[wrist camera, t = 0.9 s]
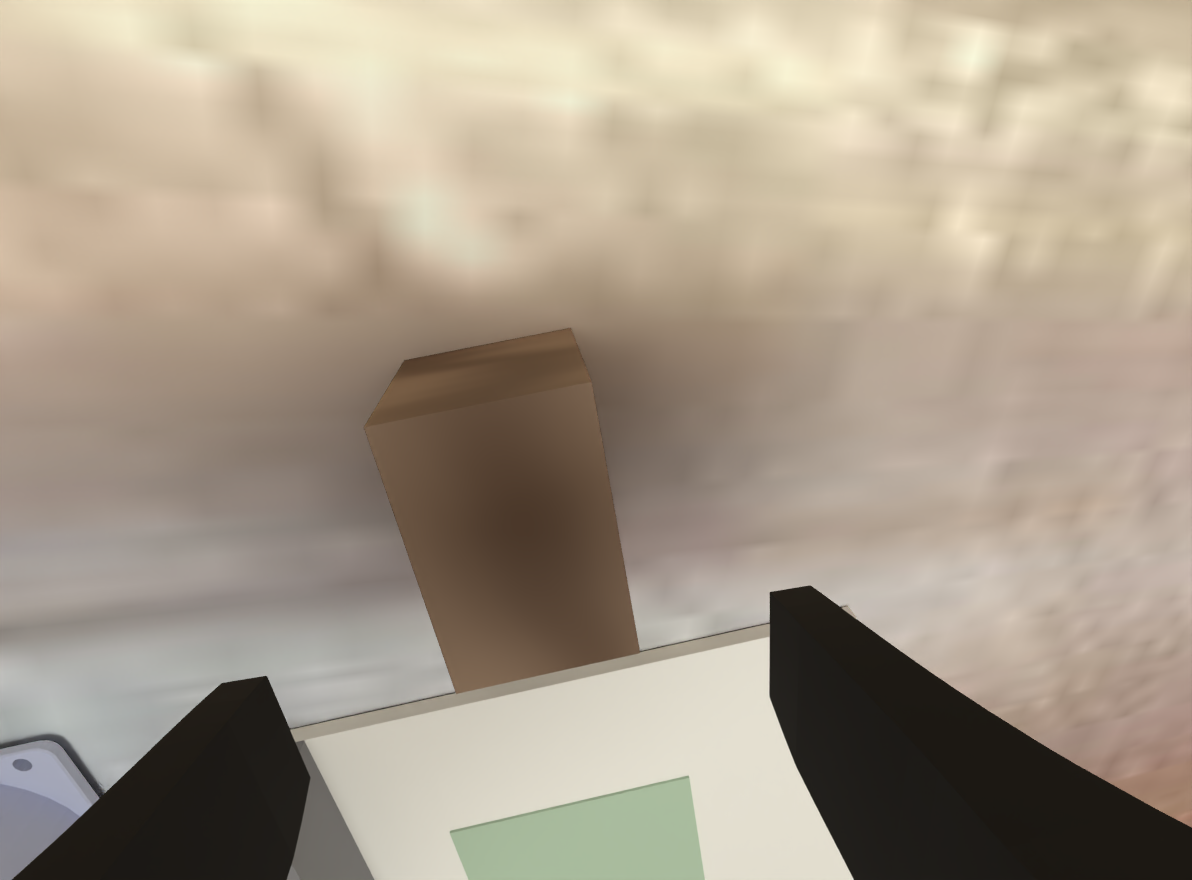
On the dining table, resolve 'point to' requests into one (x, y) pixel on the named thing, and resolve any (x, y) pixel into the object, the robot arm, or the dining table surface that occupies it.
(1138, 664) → the dining table surface
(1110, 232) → the dining table surface
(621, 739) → the arena
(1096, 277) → the dining table surface
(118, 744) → the dining table surface
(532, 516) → the walnut block
